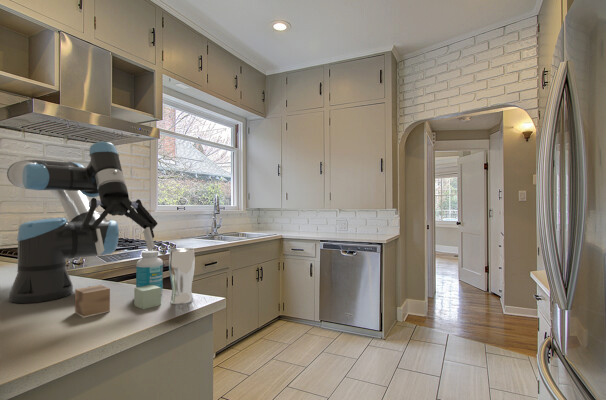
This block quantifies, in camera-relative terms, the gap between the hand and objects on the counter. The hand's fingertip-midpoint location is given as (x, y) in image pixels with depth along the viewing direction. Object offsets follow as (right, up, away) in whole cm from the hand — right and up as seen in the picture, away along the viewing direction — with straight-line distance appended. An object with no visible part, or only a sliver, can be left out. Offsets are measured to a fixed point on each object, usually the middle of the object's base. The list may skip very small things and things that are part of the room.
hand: (127, 250), depth 94 cm
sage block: (+6, -15, 0) cm, 16 cm away
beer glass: (+14, -15, +3) cm, 21 cm away
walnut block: (-6, -15, -7) cm, 17 cm away
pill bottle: (+2, -15, +9) cm, 18 cm away
